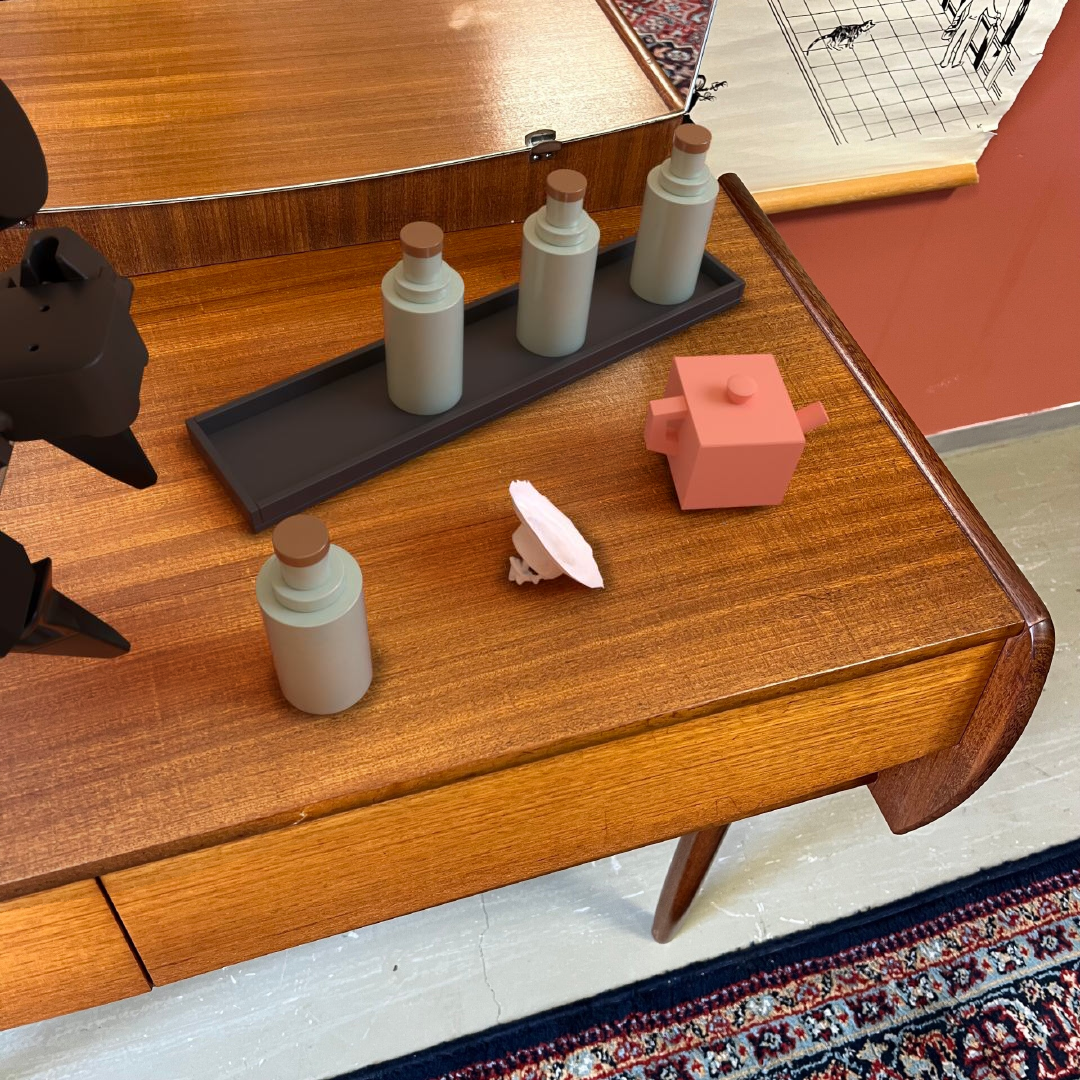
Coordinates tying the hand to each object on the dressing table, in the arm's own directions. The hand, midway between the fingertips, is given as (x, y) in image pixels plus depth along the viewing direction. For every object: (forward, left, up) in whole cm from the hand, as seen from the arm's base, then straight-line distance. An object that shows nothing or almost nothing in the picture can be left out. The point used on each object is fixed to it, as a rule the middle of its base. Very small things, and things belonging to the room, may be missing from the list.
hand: (137, 563), depth 45 cm
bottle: (+7, +2, -13) cm, 15 cm away
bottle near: (+12, +24, -13) cm, 30 cm away
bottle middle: (+21, +31, -13) cm, 39 cm away
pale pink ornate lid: (+20, +10, -13) cm, 26 cm away
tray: (+16, +28, -13) cm, 35 cm away
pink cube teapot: (+32, +18, -13) cm, 39 cm away
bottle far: (+30, +37, -13) cm, 49 cm away
